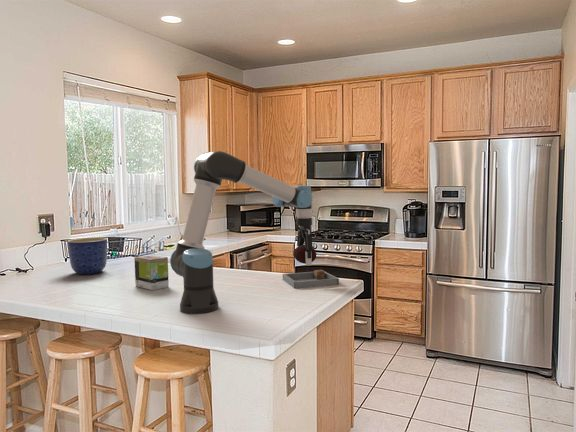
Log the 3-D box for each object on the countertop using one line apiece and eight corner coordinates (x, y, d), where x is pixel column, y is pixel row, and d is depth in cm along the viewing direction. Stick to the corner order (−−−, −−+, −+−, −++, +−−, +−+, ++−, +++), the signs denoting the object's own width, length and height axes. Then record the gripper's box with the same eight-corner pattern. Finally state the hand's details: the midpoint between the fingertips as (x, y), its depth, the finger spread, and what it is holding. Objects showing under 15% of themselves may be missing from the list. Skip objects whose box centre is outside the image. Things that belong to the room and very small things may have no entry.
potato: (312, 266, 221) (311, 246, 220) (289, 264, 227) (289, 245, 226) (320, 262, 228) (319, 244, 227) (298, 261, 234) (297, 242, 233)
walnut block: (316, 279, 234) (316, 271, 233) (314, 278, 238) (314, 270, 237) (324, 279, 235) (324, 271, 235) (321, 277, 239) (321, 269, 238)
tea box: (169, 287, 227) (168, 256, 225) (151, 290, 219) (149, 259, 218) (153, 282, 237) (151, 253, 236) (134, 286, 230) (133, 256, 228)
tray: (294, 289, 216) (294, 282, 216) (282, 280, 235) (282, 274, 235) (338, 285, 222) (338, 278, 222) (323, 277, 241) (323, 270, 241)
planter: (95, 268, 280) (94, 236, 278) (116, 271, 268) (114, 238, 266) (61, 274, 263) (60, 240, 262) (82, 278, 251) (80, 243, 250)
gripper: (319, 218, 216) (320, 266, 217) (304, 215, 237) (305, 258, 239) (304, 219, 213) (305, 267, 215) (289, 216, 235) (291, 259, 237)
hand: (305, 263), depth 227 cm, fingers closed on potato, 10 cm apart
